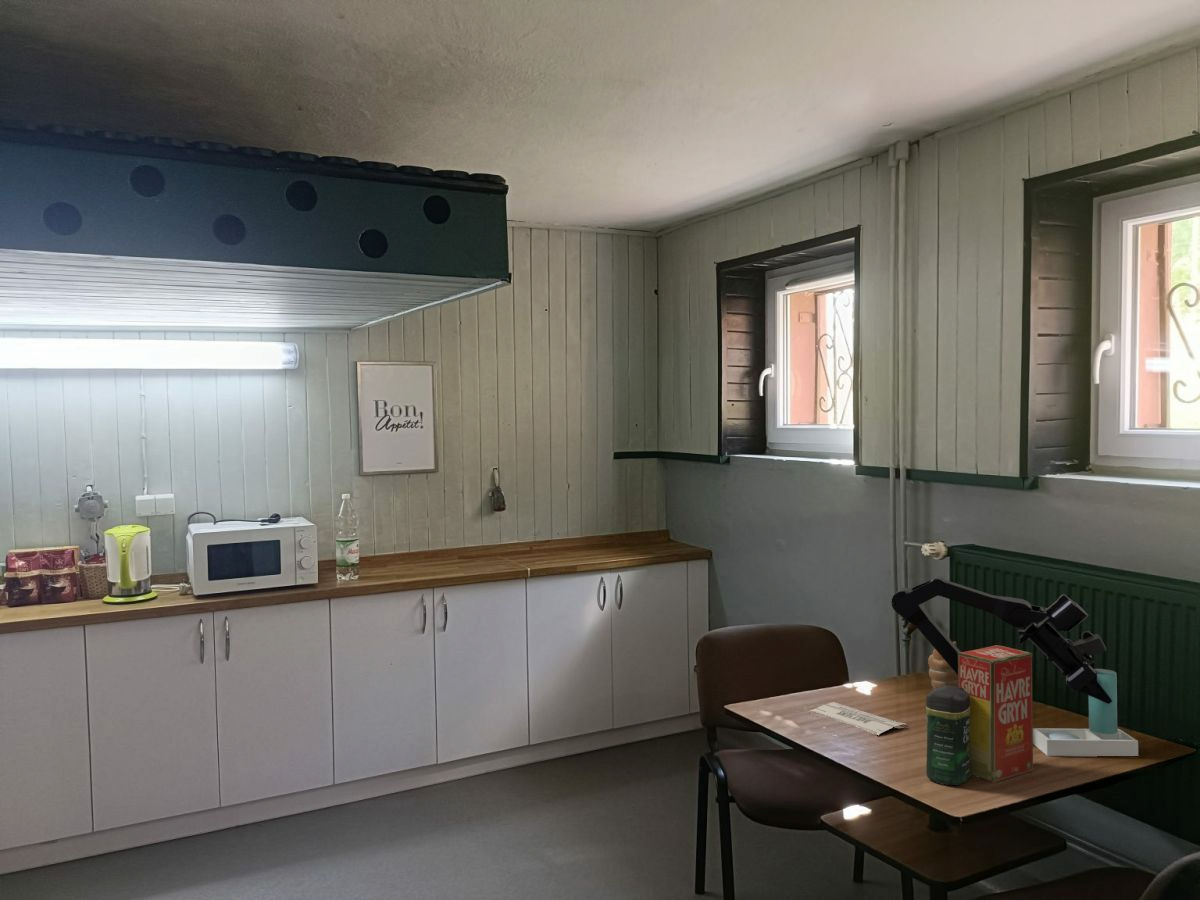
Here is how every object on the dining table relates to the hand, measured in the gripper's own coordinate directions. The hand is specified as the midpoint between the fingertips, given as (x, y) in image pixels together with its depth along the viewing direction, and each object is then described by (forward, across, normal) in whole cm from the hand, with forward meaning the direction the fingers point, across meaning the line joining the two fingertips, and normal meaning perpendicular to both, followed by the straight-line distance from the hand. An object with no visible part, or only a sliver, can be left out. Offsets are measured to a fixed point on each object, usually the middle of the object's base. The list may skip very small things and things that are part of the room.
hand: (1109, 698), depth 195 cm
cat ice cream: (-17, +17, +34) cm, 41 cm away
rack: (+4, -2, +12) cm, 13 cm away
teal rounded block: (+4, 0, +6) cm, 7 cm away
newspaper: (-30, 0, +48) cm, 56 cm away
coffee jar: (-14, -31, +30) cm, 45 cm away
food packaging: (-8, -23, +24) cm, 34 cm away
